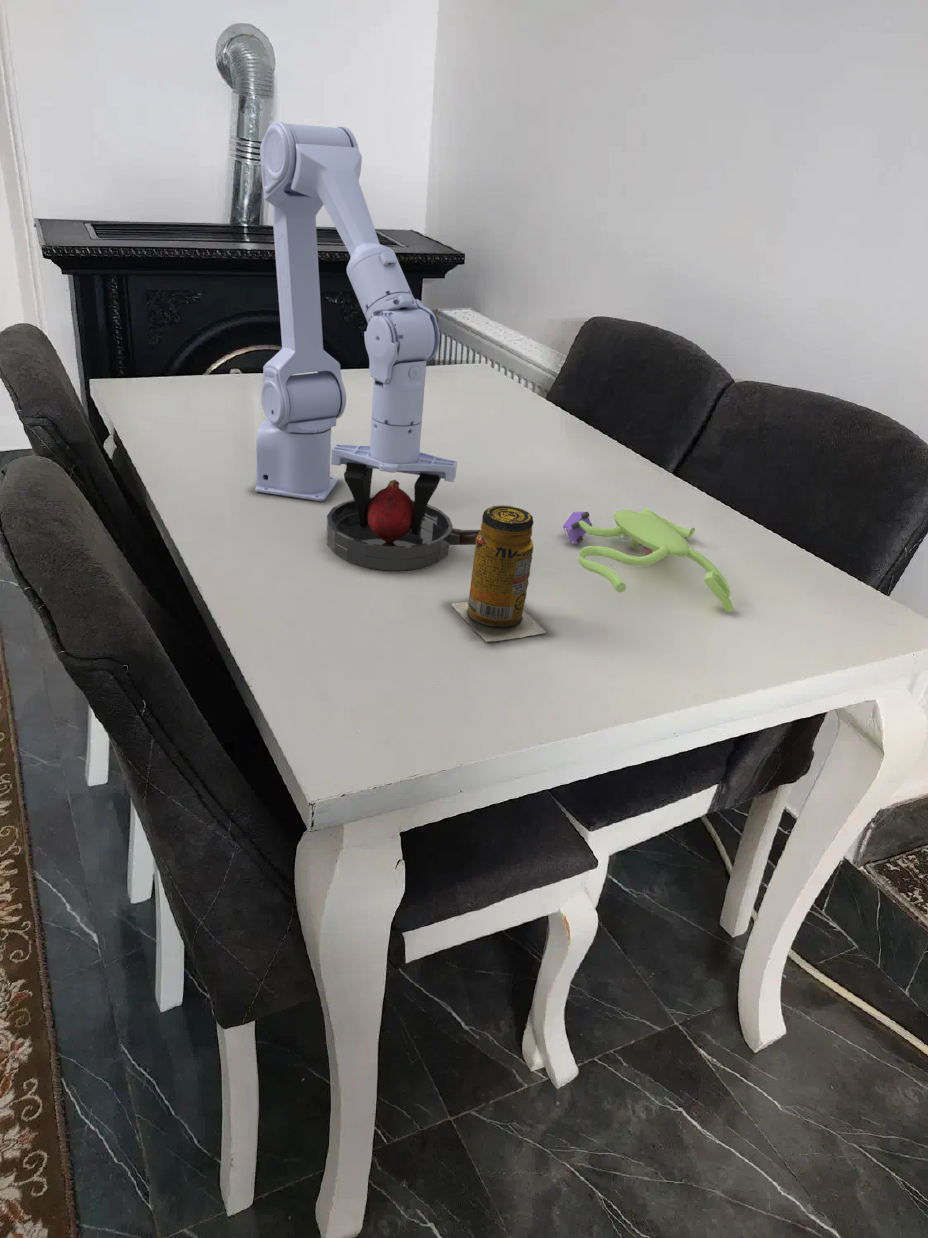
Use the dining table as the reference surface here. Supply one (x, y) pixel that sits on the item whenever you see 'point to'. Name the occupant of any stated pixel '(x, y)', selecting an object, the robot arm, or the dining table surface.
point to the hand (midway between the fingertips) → (390, 527)
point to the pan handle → (463, 537)
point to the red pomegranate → (390, 513)
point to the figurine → (651, 536)
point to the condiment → (501, 576)
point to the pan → (381, 555)
